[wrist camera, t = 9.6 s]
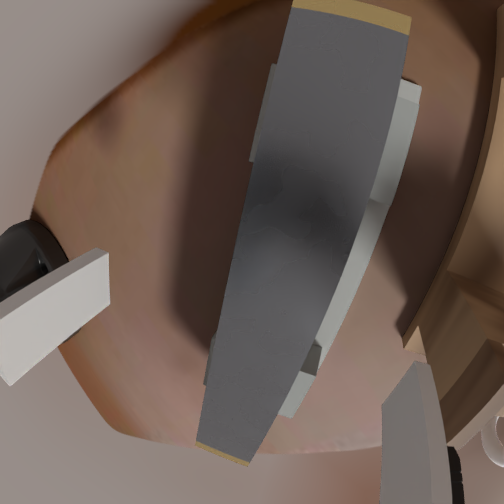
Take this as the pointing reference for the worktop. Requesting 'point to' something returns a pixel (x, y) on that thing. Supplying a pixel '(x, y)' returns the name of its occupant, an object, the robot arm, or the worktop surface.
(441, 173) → the worktop surface
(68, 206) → the worktop surface
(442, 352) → the rack
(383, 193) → the rest
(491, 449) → the mug
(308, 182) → the rail
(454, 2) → the worktop surface
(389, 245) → the worktop surface
